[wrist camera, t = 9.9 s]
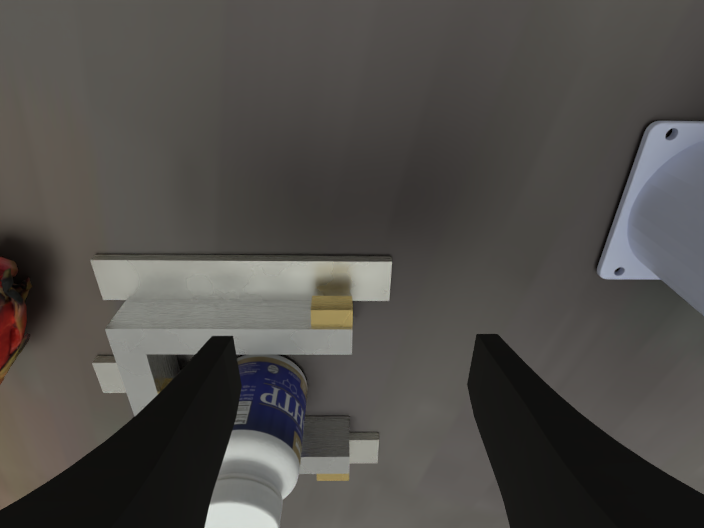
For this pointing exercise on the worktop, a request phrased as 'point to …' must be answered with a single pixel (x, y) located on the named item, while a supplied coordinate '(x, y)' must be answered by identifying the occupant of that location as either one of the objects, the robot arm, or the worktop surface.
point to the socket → (239, 325)
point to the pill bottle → (261, 445)
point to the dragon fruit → (11, 315)
